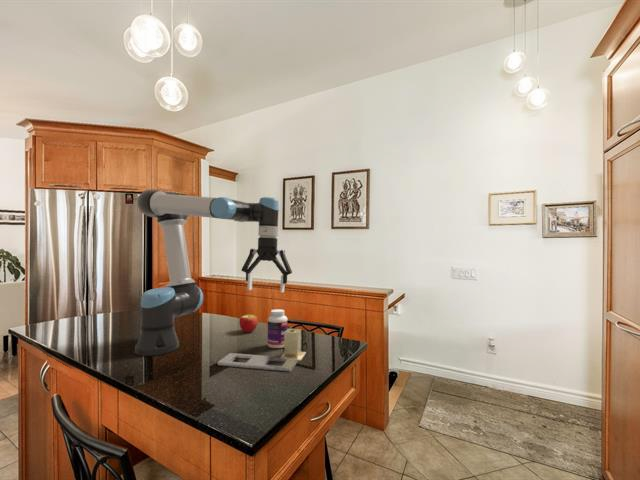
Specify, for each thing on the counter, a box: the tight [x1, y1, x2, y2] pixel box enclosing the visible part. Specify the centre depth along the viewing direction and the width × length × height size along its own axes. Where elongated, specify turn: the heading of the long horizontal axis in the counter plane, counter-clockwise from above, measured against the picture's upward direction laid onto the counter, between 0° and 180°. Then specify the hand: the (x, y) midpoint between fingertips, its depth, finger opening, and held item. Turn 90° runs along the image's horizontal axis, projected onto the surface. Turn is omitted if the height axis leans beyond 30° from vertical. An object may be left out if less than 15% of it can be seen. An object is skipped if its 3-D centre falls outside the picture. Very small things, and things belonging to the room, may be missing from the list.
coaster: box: [280, 351, 307, 362], centre depth 114 cm, size 8×8×1 cm
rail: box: [217, 352, 299, 373], centre depth 107 cm, size 26×9×1 cm, turn 79°
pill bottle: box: [267, 308, 289, 349], centre depth 125 cm, size 8×8×14 cm
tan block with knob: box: [283, 328, 302, 358], centre depth 114 cm, size 5×5×9 cm
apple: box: [238, 310, 259, 333], centre depth 145 cm, size 8×8×10 cm
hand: (265, 290), depth 121 cm, fingers open, 13 cm apart
